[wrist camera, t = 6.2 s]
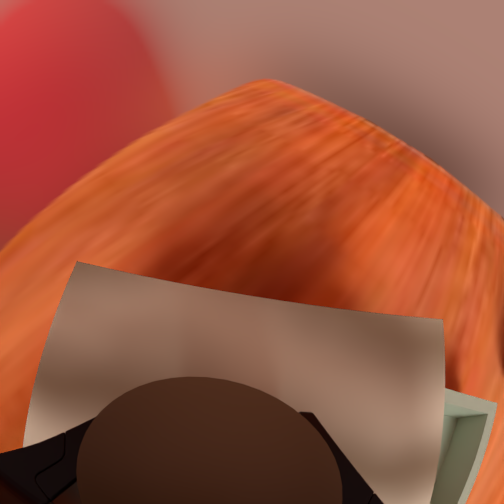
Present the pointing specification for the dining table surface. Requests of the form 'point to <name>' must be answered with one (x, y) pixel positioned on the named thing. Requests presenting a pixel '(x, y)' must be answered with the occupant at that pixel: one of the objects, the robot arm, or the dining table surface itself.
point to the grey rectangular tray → (461, 446)
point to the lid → (236, 395)
